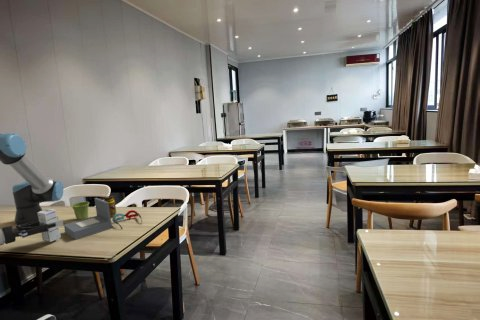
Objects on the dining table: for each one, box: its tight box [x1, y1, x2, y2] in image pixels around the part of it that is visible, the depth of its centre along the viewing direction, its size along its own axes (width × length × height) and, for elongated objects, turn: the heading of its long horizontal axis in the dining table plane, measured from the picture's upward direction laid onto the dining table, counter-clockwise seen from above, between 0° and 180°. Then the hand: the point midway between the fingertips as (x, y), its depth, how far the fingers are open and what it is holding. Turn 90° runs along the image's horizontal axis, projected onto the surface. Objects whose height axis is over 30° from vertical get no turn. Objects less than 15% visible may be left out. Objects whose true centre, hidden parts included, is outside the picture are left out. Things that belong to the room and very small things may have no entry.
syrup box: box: [37, 208, 62, 243], centre depth 149 cm, size 6×6×14 cm
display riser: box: [63, 197, 113, 240], centre depth 161 cm, size 16×18×14 cm
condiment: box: [103, 195, 119, 219], centre depth 180 cm, size 7×8×12 cm
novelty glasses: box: [111, 209, 143, 230], centre depth 168 cm, size 14×15×5 cm
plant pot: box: [71, 201, 90, 221], centre depth 181 cm, size 9×9×9 cm
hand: (60, 220), depth 152 cm, fingers closed on syrup box, 7 cm apart
